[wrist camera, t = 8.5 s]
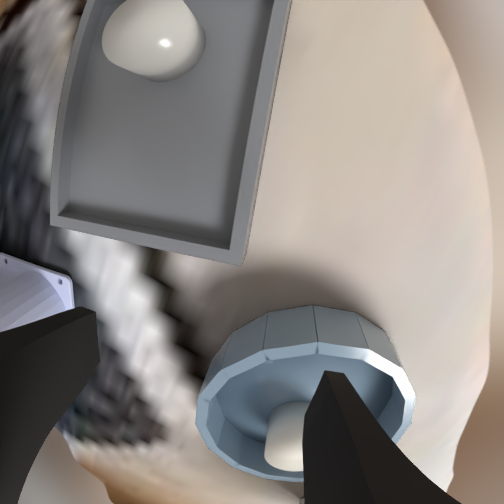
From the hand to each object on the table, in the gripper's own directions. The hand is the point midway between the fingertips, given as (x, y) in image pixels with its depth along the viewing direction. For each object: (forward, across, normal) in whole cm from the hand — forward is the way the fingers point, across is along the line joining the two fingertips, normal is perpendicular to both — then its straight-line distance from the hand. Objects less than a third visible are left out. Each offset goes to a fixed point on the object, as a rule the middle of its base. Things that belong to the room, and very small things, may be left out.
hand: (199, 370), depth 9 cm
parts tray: (+10, +6, -8) cm, 14 cm away
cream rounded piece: (+9, +6, -12) cm, 16 cm away
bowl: (+10, -6, +8) cm, 14 cm away
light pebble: (+9, -6, +11) cm, 15 cm away
